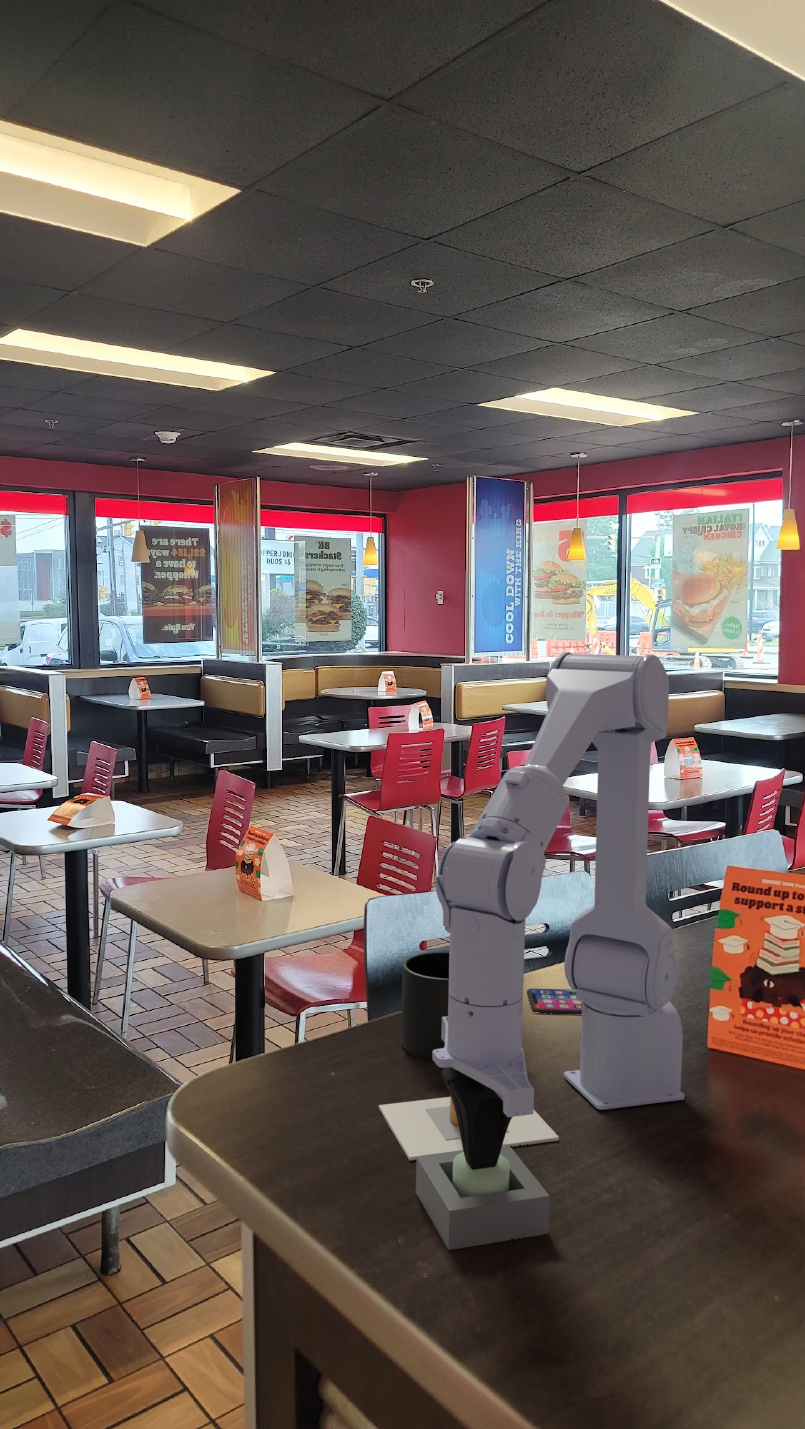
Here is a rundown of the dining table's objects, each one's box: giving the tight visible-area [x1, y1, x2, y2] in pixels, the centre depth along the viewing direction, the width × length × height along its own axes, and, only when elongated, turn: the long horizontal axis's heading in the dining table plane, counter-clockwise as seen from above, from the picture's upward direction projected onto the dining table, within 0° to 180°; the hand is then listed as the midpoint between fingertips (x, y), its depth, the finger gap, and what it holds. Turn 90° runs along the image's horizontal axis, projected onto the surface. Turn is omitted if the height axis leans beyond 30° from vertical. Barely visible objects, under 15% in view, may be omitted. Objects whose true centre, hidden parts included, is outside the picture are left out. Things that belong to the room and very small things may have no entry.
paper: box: [378, 1096, 560, 1162], centre depth 95 cm, size 14×10×1 cm
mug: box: [400, 951, 450, 1061], centre depth 112 cm, size 9×12×9 cm
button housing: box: [415, 1145, 551, 1251], centre depth 80 cm, size 8×8×3 cm
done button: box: [452, 1152, 510, 1198], centre depth 80 cm, size 4×4×3 cm
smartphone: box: [526, 988, 582, 1015], centre depth 127 cm, size 8×1×15 cm
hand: (481, 1164), depth 80 cm, fingers closed, pressing on done button
